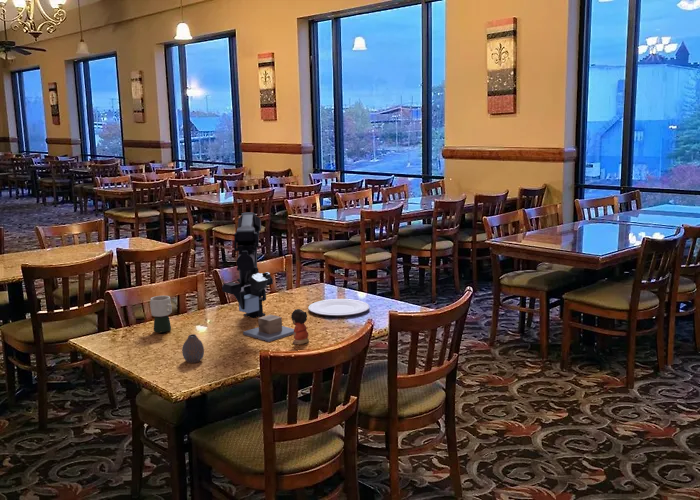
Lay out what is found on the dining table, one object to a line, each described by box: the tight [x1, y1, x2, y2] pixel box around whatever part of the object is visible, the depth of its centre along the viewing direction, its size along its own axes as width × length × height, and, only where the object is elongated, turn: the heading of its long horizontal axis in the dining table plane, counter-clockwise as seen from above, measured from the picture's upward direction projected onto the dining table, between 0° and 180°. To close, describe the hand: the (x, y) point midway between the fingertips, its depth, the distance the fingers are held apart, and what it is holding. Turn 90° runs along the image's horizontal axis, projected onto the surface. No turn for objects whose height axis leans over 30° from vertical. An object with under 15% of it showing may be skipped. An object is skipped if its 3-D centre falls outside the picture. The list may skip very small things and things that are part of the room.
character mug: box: [149, 295, 173, 333], centre depth 262 cm, size 11×7×13 cm, turn 57°
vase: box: [181, 333, 205, 364], centre depth 230 cm, size 7×7×9 cm
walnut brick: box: [257, 314, 283, 334], centre depth 258 cm, size 6×6×5 cm
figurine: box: [290, 308, 310, 345], centre depth 247 cm, size 6×6×12 cm
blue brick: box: [238, 294, 259, 314], centre depth 250 cm, size 5×5×5 cm
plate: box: [308, 298, 370, 318], centre depth 288 cm, size 25×25×2 cm
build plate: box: [242, 325, 294, 343], centre depth 259 cm, size 14×14×1 cm
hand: (249, 307), depth 251 cm, fingers closed on blue brick, 5 cm apart
